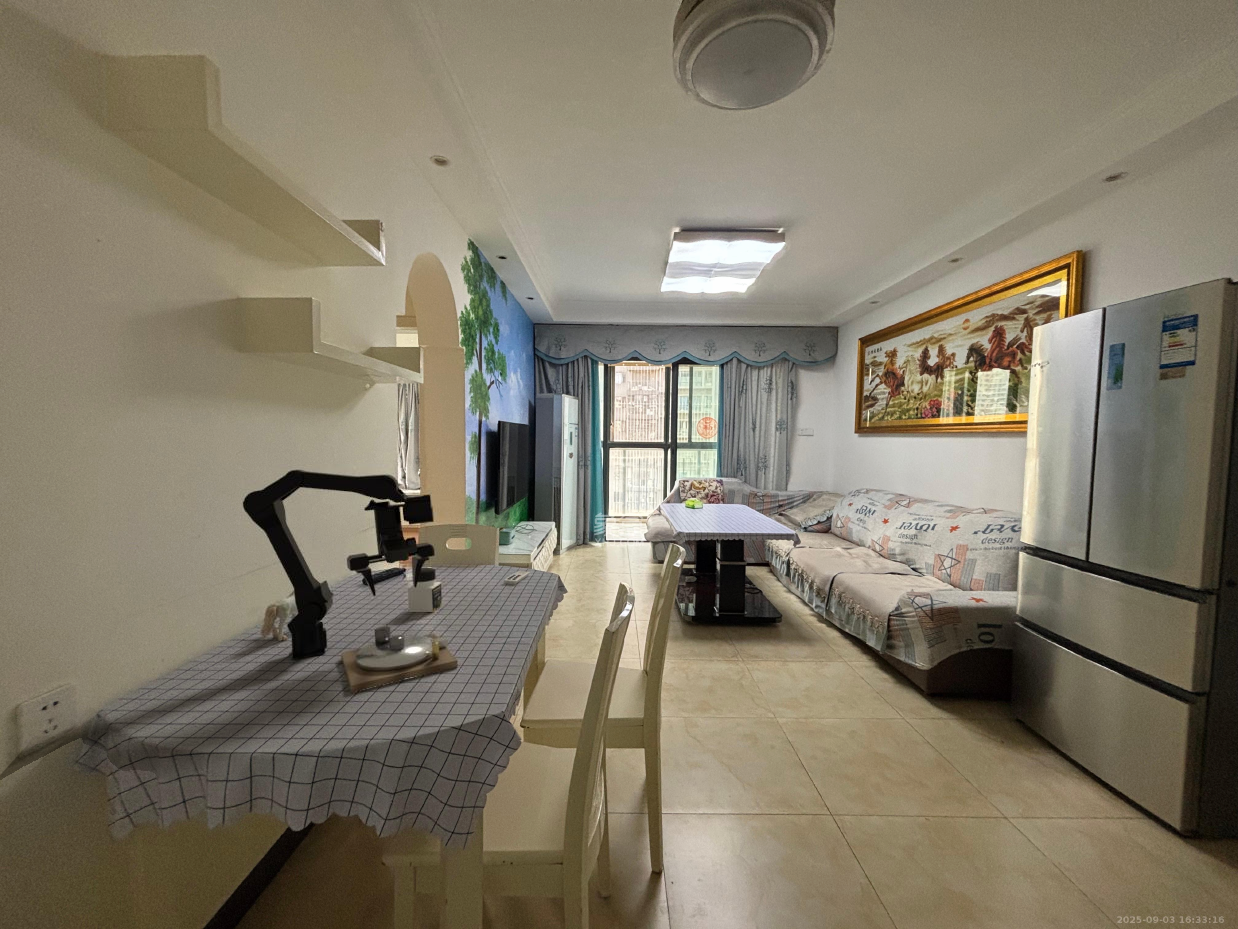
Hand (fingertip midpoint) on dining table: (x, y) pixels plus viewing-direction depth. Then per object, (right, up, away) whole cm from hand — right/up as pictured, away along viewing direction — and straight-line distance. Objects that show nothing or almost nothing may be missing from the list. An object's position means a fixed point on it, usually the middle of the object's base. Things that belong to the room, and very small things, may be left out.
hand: (395, 591), depth 126 cm
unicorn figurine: (-33, -13, +9) cm, 36 cm away
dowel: (+15, -11, -15) cm, 24 cm away
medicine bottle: (-2, -12, +26) cm, 29 cm away
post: (+6, -9, -13) cm, 17 cm away
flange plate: (+7, -11, -12) cm, 18 cm away
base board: (+6, -12, -13) cm, 19 cm away
